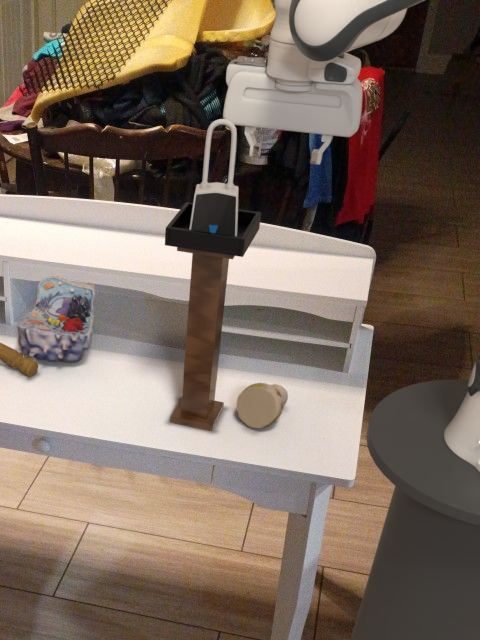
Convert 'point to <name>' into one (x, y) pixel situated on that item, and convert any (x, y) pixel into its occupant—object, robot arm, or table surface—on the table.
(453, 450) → the robot arm
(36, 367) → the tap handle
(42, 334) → the cell model
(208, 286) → the stand
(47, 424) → the table surface
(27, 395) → the table surface
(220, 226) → the padlock
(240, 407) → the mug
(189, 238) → the dark tray
